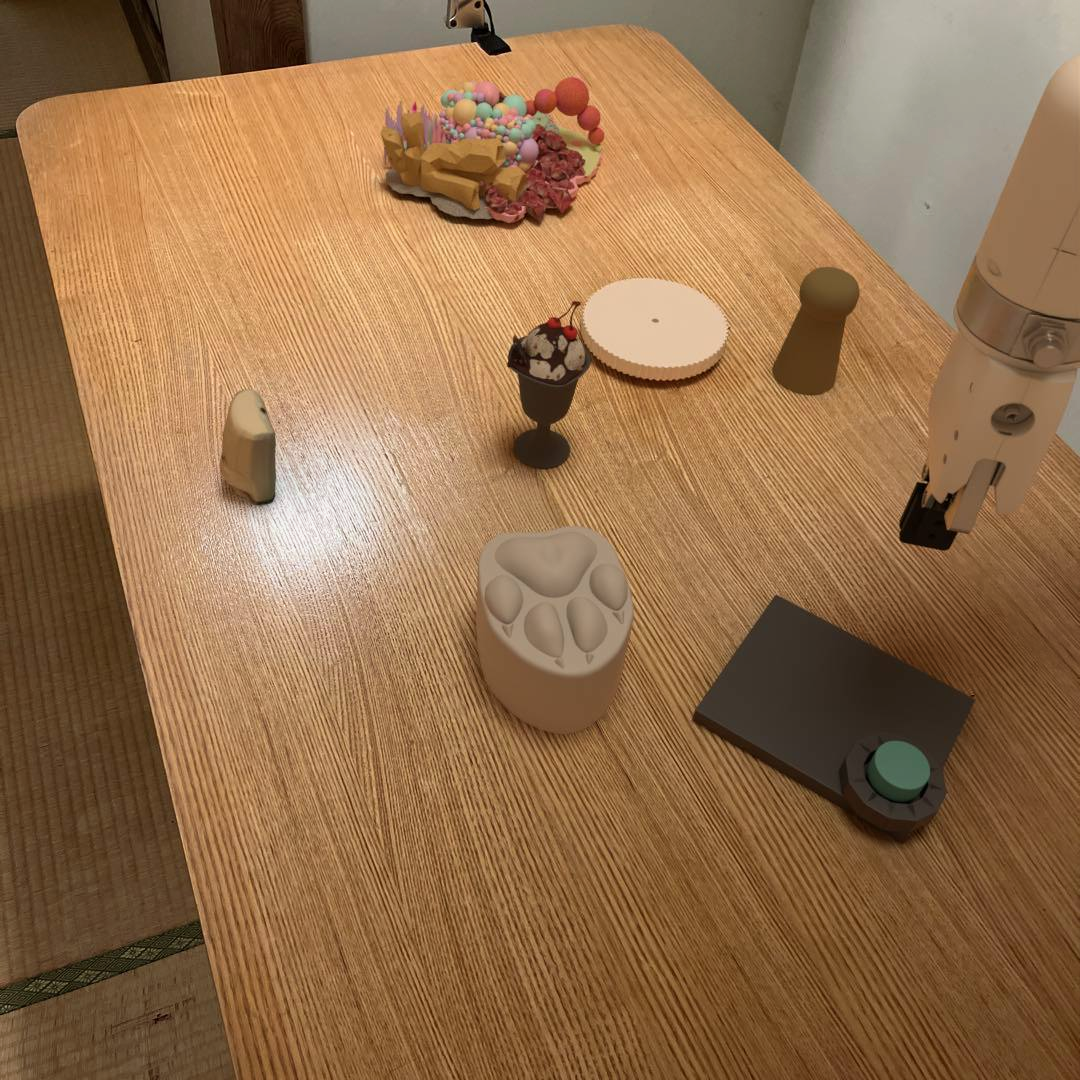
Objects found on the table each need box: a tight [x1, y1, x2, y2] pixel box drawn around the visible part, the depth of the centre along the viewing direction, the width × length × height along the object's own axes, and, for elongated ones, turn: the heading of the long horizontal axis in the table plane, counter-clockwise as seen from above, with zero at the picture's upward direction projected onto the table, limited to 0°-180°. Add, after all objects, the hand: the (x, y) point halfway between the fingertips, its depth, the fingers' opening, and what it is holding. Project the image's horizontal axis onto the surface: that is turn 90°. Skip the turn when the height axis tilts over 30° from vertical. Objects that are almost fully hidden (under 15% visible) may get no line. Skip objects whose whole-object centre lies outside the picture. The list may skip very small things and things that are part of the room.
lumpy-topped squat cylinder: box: [475, 525, 635, 735], centre depth 76 cm, size 10×13×9 cm
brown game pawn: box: [772, 266, 860, 396], centre depth 99 cm, size 6×6×11 cm
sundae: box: [506, 300, 592, 469], centre depth 88 cm, size 7×7×15 cm
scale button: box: [867, 741, 930, 802], centre depth 70 cm, size 4×4×2 cm
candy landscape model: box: [380, 76, 605, 224], centre depth 121 cm, size 25×24×9 cm
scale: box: [691, 594, 976, 845], centre depth 76 cm, size 17×14×3 cm
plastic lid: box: [580, 277, 729, 382], centre depth 104 cm, size 14×14×2 cm
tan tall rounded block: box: [219, 388, 277, 506], centre depth 86 cm, size 6×5×8 cm
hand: (922, 537), depth 70 cm, fingers closed
